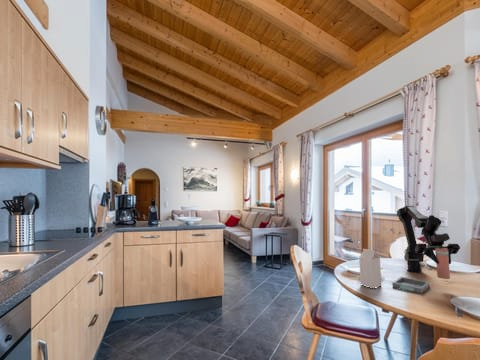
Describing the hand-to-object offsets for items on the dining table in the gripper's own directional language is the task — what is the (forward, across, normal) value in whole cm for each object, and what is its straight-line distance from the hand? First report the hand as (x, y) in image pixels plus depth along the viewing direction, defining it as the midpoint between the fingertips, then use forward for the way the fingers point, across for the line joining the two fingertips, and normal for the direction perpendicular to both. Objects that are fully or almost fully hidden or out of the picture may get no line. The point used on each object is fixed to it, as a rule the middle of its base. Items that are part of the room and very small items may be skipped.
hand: (444, 263), depth 129 cm
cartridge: (+4, 0, +6) cm, 7 cm away
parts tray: (+6, -14, +13) cm, 20 cm away
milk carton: (+7, -33, +12) cm, 36 cm away
